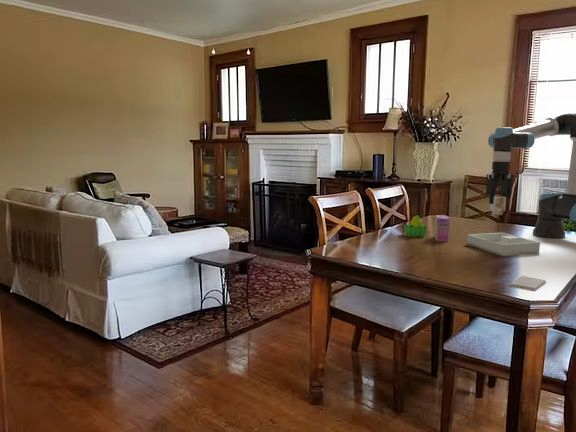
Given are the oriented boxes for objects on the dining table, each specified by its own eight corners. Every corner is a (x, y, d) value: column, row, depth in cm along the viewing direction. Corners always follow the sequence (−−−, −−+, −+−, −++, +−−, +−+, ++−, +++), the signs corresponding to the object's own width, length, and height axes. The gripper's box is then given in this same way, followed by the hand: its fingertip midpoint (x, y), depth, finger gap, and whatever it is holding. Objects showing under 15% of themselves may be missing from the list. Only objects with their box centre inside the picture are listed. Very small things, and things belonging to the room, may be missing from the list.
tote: (501, 242, 230) (502, 232, 229) (539, 253, 207) (540, 242, 206) (466, 244, 225) (467, 234, 224) (501, 255, 202) (501, 244, 201)
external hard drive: (545, 284, 163) (534, 292, 154) (520, 279, 168) (508, 287, 159) (546, 280, 163) (535, 287, 154) (521, 275, 168) (509, 282, 159)
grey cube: (509, 247, 214) (510, 235, 213) (518, 249, 209) (519, 238, 208) (499, 248, 213) (500, 236, 212) (508, 250, 208) (509, 238, 207)
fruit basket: (425, 234, 250) (426, 214, 248) (427, 237, 241) (428, 216, 239) (403, 233, 252) (404, 213, 250) (404, 237, 243) (405, 215, 241)
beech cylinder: (497, 213, 222) (499, 196, 221) (505, 214, 217) (506, 197, 216) (489, 213, 221) (490, 196, 220) (496, 215, 216) (497, 198, 215)
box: (448, 241, 231) (449, 218, 229) (436, 241, 232) (437, 218, 231) (445, 237, 241) (446, 215, 240) (434, 237, 242) (435, 215, 241)
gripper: (511, 160, 221) (507, 209, 225) (479, 160, 217) (475, 209, 220) (523, 161, 214) (518, 211, 218) (490, 161, 209) (486, 212, 213)
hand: (497, 210), depth 219 cm, fingers closed on beech cylinder, 5 cm apart
